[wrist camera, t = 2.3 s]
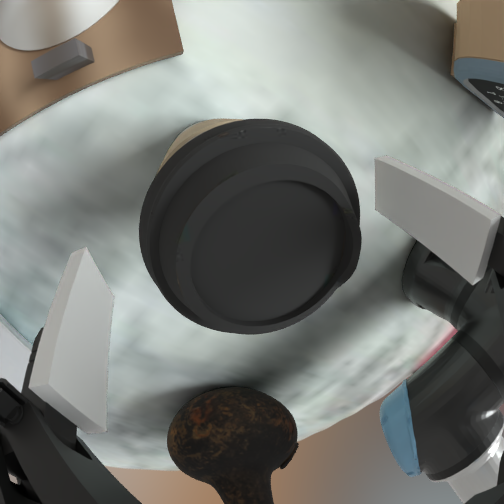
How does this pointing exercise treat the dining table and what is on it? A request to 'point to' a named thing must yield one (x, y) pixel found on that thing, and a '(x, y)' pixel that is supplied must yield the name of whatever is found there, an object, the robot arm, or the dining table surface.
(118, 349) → the dining table surface
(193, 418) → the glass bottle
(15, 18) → the tag board
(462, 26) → the alarm clock
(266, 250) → the coffee cup
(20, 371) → the salad plate
